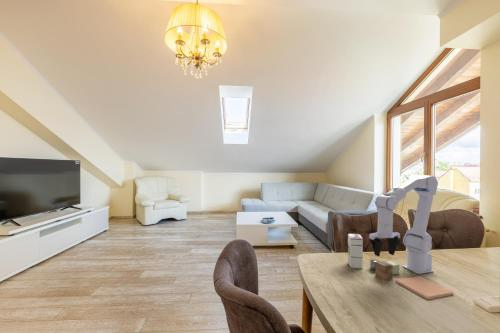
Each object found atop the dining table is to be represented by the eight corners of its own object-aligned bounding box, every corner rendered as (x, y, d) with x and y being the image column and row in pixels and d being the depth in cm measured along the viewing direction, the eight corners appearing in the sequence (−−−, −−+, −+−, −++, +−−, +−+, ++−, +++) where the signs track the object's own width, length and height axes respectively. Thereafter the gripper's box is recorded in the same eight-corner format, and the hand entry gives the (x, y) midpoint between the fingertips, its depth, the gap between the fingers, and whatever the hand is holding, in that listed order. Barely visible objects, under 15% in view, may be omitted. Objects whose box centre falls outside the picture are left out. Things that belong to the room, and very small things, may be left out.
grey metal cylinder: (374, 267, 111) (375, 258, 111) (381, 271, 107) (382, 262, 107) (368, 268, 110) (368, 259, 110) (374, 272, 106) (374, 263, 106)
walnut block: (383, 274, 104) (383, 260, 104) (392, 278, 100) (392, 264, 100) (375, 275, 103) (375, 261, 103) (384, 280, 99) (384, 266, 99)
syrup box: (363, 268, 109) (363, 237, 109) (349, 267, 111) (350, 236, 111) (359, 263, 115) (360, 234, 115) (347, 262, 116) (347, 233, 116)
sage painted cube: (391, 269, 109) (391, 261, 109) (399, 273, 105) (399, 264, 105) (384, 270, 108) (384, 262, 108) (391, 274, 104) (392, 265, 104)
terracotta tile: (419, 278, 101) (419, 276, 101) (453, 294, 88) (453, 292, 88) (395, 282, 97) (395, 279, 97) (427, 299, 84) (427, 297, 84)
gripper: (378, 226, 96) (377, 259, 96) (406, 225, 100) (405, 257, 100) (365, 222, 102) (364, 253, 102) (392, 221, 106) (391, 251, 106)
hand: (384, 254), depth 101 cm, fingers open, 7 cm apart
